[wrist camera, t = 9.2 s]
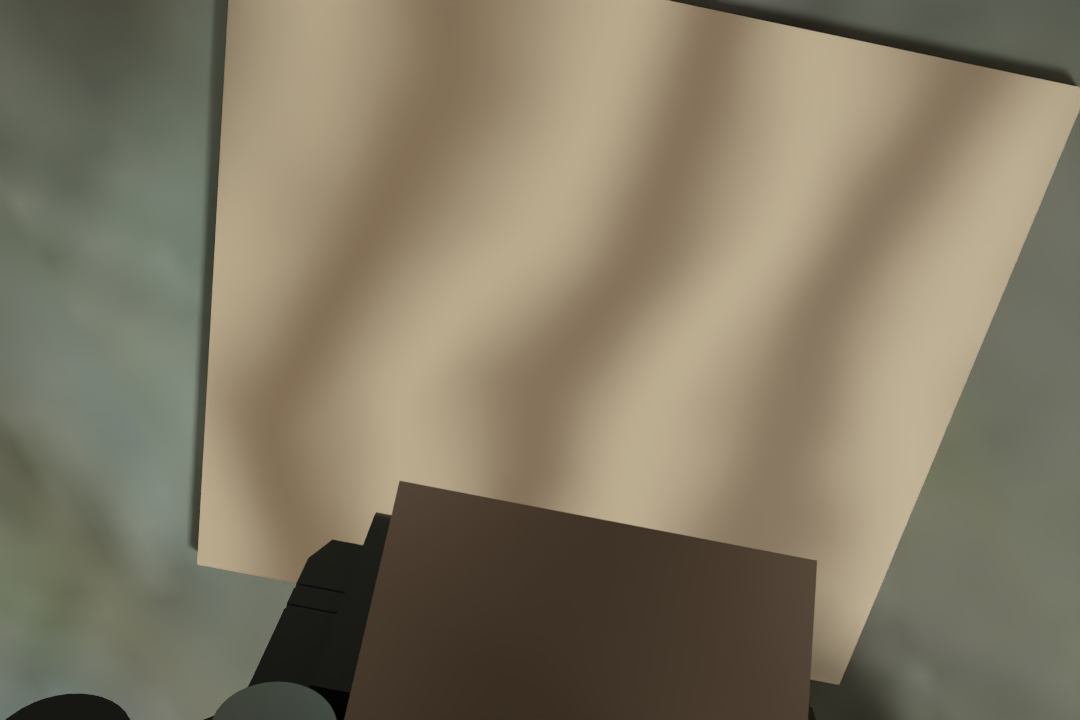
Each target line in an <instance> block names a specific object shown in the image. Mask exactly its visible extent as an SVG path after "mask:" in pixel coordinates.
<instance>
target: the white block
mask: <svg viewBox="0 0 1080 720" xmlns="http://www.w3.org/2000/svg"><path fill="white" fill-rule="evenodd" d="M816 573H817V560H811V559H806V558H801V557H796V556H790V555H785V554H780V553H775V552H770V551H764V550H759V549H754V548H749V547H743V546H738V545H733V544H728V543H723V542H717V541H712V540H707V539H702V538H696V537H691V536H686V535H681V534H676V533H670V532H665V531H660V530H655V529H649V528H644V527H639V526H634V525H629V524H623V523H618V522H613V521H608V520H602V519H597V518H592V517H587V516H582V515H576V514H571V513H566V512H561V511H555V510H550V509H545V508H540V507H535V506H529V505H524V504H519V503H514V502H508V501H503V500H498V499H493V498H488V497H482V496H477V495H472V494H467V493H461V492H456V491H451V490H446V489H441V488H435V487H430V486H425V485H420V484H415V483H409V482H404V481H399V485H398V489H397V494H396V498H395V502H394V507H393V511H392V515H391V520H390V524H389V528H388V533H387V537H386V541H385V546H384V550H383V554H382V558H381V563H380V567H379V571H378V576H377V580H376V584H375V589H374V593H373V597H372V602H371V606H370V610H369V615H368V619H367V623H366V628H365V632H364V636H363V640H362V645H361V649H360V653H359V658H358V662H357V666H356V671H355V675H354V679H353V684H352V688H351V692H350V697H349V701H348V705H347V709H346V714H345V718H344V720H808V712H809V694H810V677H811V660H812V642H813V625H814V608H815V591H816Z"/></svg>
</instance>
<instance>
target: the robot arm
mask: <svg viewBox="0 0 1080 720" xmlns="http://www.w3.org/2000/svg"><path fill="white" fill-rule="evenodd" d="M390 520H391V515H389V514H383V513H378V512H376V513H375V515H374V518H373V520H372V523H371V526H370V528H369V531H368V533H367V536H366V539H365V541H364V544H363V545H359V544H354V543H349V542H343V541H338V540H333V539H332V540H331V541H330V542H328V543H327V544H326V545H325V546H323V547H322V548H321V549H319V550H318V551H317V552H315V553H314V554H313V555H312V556H310V557H309V558H308V559H307V562H306V564H305V566H304V568H303V570H302V572H301V575H300V577H299V579H298V581H297V584H296V588H294V590H293V592H292V594H291V596H290V598H289V600H288V603H287V607H286V608H285V609H284V611H283V613H282V615H281V618H280V620H279V622H278V624H277V626H276V628H275V630H274V633H273V635H272V637H271V639H270V641H269V643H268V646H267V648H266V650H265V652H264V654H263V656H262V658H261V661H260V663H259V665H258V667H257V669H256V671H255V674H254V676H253V678H252V680H251V682H250V684H249V686H248V687H247V688H245V689H243V690H240V691H238V692H237V693H235V694H234V695H232V696H231V697H229V698H228V699H227V700H226V701H225V702H224V703H223V704H222V705H221V706H220V707H219V709H218V710H217V711H216V713H215V715H214V716H212V717H210V718H207V719H204V720H344V718H345V714H346V709H347V705H348V701H349V697H350V692H351V688H352V684H353V679H354V675H355V671H356V666H357V662H358V658H359V653H360V649H361V645H362V640H363V636H364V632H365V628H366V623H367V619H368V615H369V610H370V606H371V602H372V597H373V593H374V589H375V584H376V580H377V576H378V571H379V567H380V563H381V558H382V554H383V550H384V546H385V541H386V537H387V533H388V528H389V524H390ZM6 720H130V719H129V717H128V715H127V714H126V712H125V711H124V710H123V709H122V708H121V707H120V706H118V705H117V704H115V703H114V702H112V701H110V700H108V699H105V698H103V697H99V696H95V695H89V694H65V695H58V696H53V697H50V698H46V699H42V700H40V701H37V702H34V703H32V704H30V705H28V706H26V707H24V708H22V709H20V710H19V711H17V712H16V713H14V714H13V715H11V716H10V717H9V718H7V719H6ZM808 720H816V719H815V716H814V712H813V709H812V707H810V699H809V712H808Z"/></svg>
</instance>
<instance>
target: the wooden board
mask: <svg viewBox="0 0 1080 720" xmlns="http://www.w3.org/2000/svg"><path fill="white" fill-rule="evenodd" d="M1079 110H1080V87H1078V86H1073V85H1068V84H1064V83H1059V82H1054V81H1049V80H1045V79H1040V78H1035V77H1031V76H1026V75H1021V74H1016V73H1012V72H1007V71H1002V70H997V69H993V68H988V67H983V66H978V65H974V64H969V63H964V62H960V61H955V60H950V59H945V58H941V57H936V56H931V55H926V54H922V53H917V52H912V51H907V50H903V49H898V48H893V47H889V46H884V45H879V44H874V43H870V42H865V41H860V40H855V39H851V38H846V37H841V36H836V35H832V34H827V33H822V32H818V31H813V30H808V29H803V28H799V27H794V26H789V25H784V24H780V23H775V22H770V21H765V20H761V19H756V18H751V17H746V16H742V15H737V14H732V13H728V12H723V11H718V10H713V9H709V8H704V7H699V6H694V5H690V4H685V3H680V2H675V1H671V0H228V17H227V35H226V53H225V71H224V89H223V107H222V125H221V143H220V161H219V179H218V197H217V215H216V233H215V251H214V269H213V287H212V306H211V324H210V342H209V360H208V378H207V396H206V414H205V432H204V450H203V468H202V486H201V504H200V522H199V540H198V558H197V564H198V565H203V566H208V567H213V568H219V569H224V570H229V571H235V572H240V573H245V574H251V575H256V576H261V577H267V578H272V579H277V580H283V581H288V582H293V583H297V581H298V579H299V577H300V575H301V572H302V570H303V568H304V566H305V564H306V562H307V559H308V558H309V557H310V556H312V555H313V554H314V553H315V552H317V551H318V550H319V549H321V548H322V547H323V546H325V545H326V544H327V543H328V542H330V541H331V540H332V539H333V540H338V541H343V542H349V543H354V544H359V545H363V544H364V541H365V539H366V536H367V533H368V531H369V528H370V526H371V523H372V520H373V518H374V515H375V513H376V512H378V513H383V514H389V515H392V511H393V507H394V502H395V498H396V494H397V489H398V485H399V481H404V482H409V483H415V484H420V485H425V486H430V487H435V488H441V489H446V490H451V491H456V492H461V493H467V494H472V495H477V496H482V497H488V498H493V499H498V500H503V501H508V502H514V503H519V504H524V505H529V506H535V507H540V508H545V509H550V510H555V511H561V512H566V513H571V514H576V515H582V516H587V517H592V518H597V519H602V520H608V521H613V522H618V523H623V524H629V525H634V526H639V527H644V528H649V529H655V530H660V531H665V532H670V533H676V534H681V535H686V536H691V537H696V538H702V539H707V540H712V541H717V542H723V543H728V544H733V545H738V546H743V547H749V548H754V549H759V550H764V551H770V552H775V553H780V554H785V555H790V556H796V557H801V558H806V559H811V560H817V573H816V591H815V608H814V625H813V642H812V660H811V677H810V680H815V681H821V682H826V683H831V684H837V685H839V684H840V682H841V680H842V677H843V675H844V672H845V670H846V668H847V665H848V663H849V660H850V658H851V656H852V653H853V651H854V649H855V646H856V644H857V641H858V639H859V637H860V634H861V632H862V629H863V627H864V625H865V622H866V620H867V617H868V615H869V613H870V610H871V608H872V605H873V603H874V601H875V598H876V596H877V593H878V591H879V589H880V586H881V584H882V581H883V579H884V577H885V574H886V572H887V570H888V567H889V565H890V562H891V560H892V558H893V555H894V553H895V550H896V548H897V546H898V543H899V541H900V538H901V536H902V534H903V531H904V529H905V526H906V524H907V522H908V519H909V517H910V514H911V512H912V510H913V507H914V505H915V503H916V500H917V498H918V495H919V493H920V491H921V488H922V486H923V483H924V481H925V479H926V476H927V474H928V471H929V469H930V467H931V464H932V462H933V459H934V457H935V455H936V452H937V450H938V447H939V445H940V443H941V440H942V438H943V435H944V433H945V431H946V428H947V426H948V424H949V421H950V419H951V416H952V414H953V412H954V409H955V407H956V404H957V402H958V400H959V397H960V395H961V392H962V390H963V388H964V385H965V383H966V380H967V378H968V376H969V373H970V371H971V368H972V366H973V364H974V361H975V359H976V356H977V354H978V352H979V349H980V347H981V345H982V342H983V340H984V337H985V335H986V333H987V330H988V328H989V325H990V323H991V321H992V318H993V316H994V313H995V311H996V309H997V306H998V304H999V301H1000V299H1001V297H1002V294H1003V292H1004V289H1005V287H1006V285H1007V282H1008V280H1009V278H1010V275H1011V273H1012V270H1013V268H1014V266H1015V263H1016V261H1017V258H1018V256H1019V254H1020V251H1021V249H1022V246H1023V244H1024V242H1025V239H1026V237H1027V234H1028V232H1029V230H1030V227H1031V225H1032V222H1033V220H1034V218H1035V215H1036V213H1037V210H1038V208H1039V206H1040V203H1041V201H1042V199H1043V196H1044V194H1045V191H1046V189H1047V187H1048V184H1049V182H1050V179H1051V177H1052V175H1053V172H1054V170H1055V167H1056V165H1057V163H1058V160H1059V158H1060V155H1061V153H1062V151H1063V148H1064V146H1065V143H1066V141H1067V139H1068V136H1069V134H1070V132H1071V129H1072V127H1073V124H1074V122H1075V120H1076V117H1077V115H1078V112H1079Z"/></svg>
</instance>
